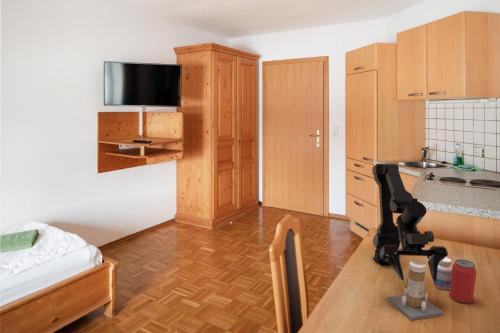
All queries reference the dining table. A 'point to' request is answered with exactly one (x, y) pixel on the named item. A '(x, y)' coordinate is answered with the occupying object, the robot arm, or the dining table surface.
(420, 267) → the sprinkles bottle
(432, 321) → the dining table surface
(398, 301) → the pin tray
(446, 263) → the pill bottle
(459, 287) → the beer can
